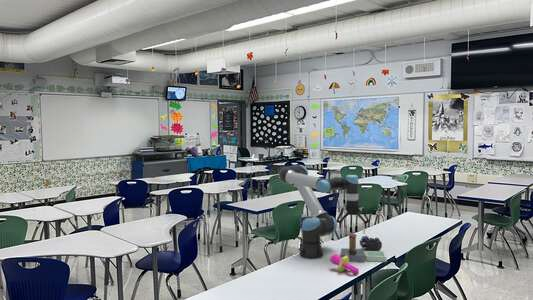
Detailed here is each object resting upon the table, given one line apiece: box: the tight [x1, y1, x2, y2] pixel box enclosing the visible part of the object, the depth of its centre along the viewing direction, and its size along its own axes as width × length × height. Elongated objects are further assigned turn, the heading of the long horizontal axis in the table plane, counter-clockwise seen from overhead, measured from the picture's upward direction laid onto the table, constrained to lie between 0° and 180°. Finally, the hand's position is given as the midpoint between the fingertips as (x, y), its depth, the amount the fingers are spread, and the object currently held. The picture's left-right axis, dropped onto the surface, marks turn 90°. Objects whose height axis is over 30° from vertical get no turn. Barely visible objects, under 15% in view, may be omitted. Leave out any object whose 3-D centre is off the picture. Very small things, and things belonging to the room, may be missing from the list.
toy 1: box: [330, 253, 360, 274], centre depth 239 cm, size 10×18×10 cm, turn 51°
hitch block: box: [340, 247, 366, 263], centre depth 261 cm, size 14×14×4 cm
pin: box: [348, 233, 357, 253], centre depth 261 cm, size 5×5×15 cm
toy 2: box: [359, 235, 383, 251], centre depth 276 cm, size 9×9×15 cm
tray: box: [364, 250, 388, 263], centre depth 259 cm, size 12×10×3 cm
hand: (352, 233), depth 260 cm, fingers open, 13 cm apart
